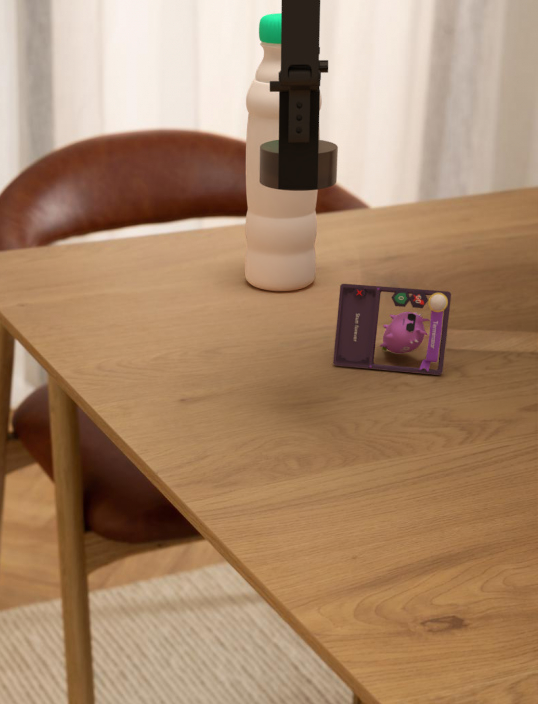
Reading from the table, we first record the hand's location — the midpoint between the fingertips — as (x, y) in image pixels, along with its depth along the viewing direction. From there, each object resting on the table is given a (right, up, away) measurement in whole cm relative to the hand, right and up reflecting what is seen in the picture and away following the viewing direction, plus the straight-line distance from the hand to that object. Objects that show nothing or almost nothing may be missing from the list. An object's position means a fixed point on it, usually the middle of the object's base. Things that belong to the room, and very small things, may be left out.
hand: (298, 177), depth 85 cm
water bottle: (+1, -2, +34) cm, 34 cm away
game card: (+9, -12, +15) cm, 21 cm away
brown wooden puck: (0, 0, 0) cm, 0 cm away
